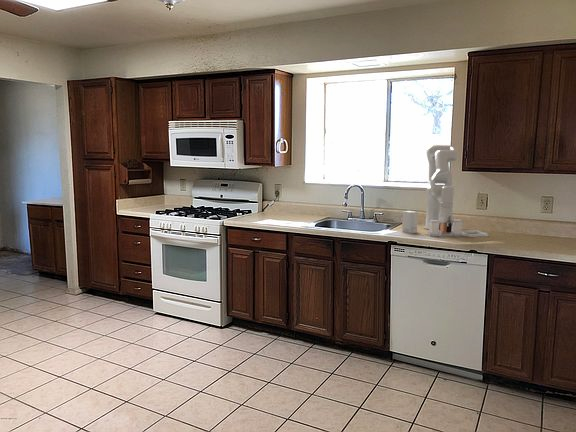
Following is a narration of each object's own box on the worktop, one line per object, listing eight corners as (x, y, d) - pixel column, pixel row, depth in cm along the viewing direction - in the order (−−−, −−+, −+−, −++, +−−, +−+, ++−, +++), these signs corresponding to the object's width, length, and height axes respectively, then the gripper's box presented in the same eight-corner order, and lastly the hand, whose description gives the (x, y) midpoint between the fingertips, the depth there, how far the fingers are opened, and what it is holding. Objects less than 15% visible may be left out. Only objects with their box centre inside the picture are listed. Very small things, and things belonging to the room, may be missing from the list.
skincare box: (417, 234, 314) (418, 211, 312) (410, 235, 311) (411, 212, 309) (408, 232, 322) (409, 210, 319) (401, 233, 318) (402, 210, 316)
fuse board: (424, 236, 308) (424, 230, 307) (457, 235, 312) (458, 229, 311) (431, 239, 298) (431, 233, 297) (465, 238, 302) (466, 232, 301)
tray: (457, 235, 314) (458, 230, 313) (476, 234, 316) (476, 230, 315) (468, 239, 300) (469, 234, 300) (488, 238, 303) (488, 234, 302)
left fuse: (428, 235, 305) (429, 220, 303) (435, 234, 306) (436, 219, 304) (431, 236, 301) (432, 221, 299) (438, 236, 302) (439, 220, 300)
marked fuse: (439, 234, 306) (440, 219, 305) (446, 234, 307) (447, 219, 305) (442, 235, 302) (443, 220, 301) (449, 235, 303) (450, 220, 302)
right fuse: (451, 234, 307) (452, 219, 306) (458, 234, 308) (459, 219, 307) (454, 235, 303) (455, 220, 302) (461, 235, 304) (462, 220, 303)
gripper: (434, 203, 309) (433, 228, 312) (447, 206, 292) (446, 233, 295) (445, 203, 311) (443, 228, 313) (458, 206, 294) (457, 233, 296)
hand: (445, 231), depth 304 cm, fingers open, 9 cm apart
